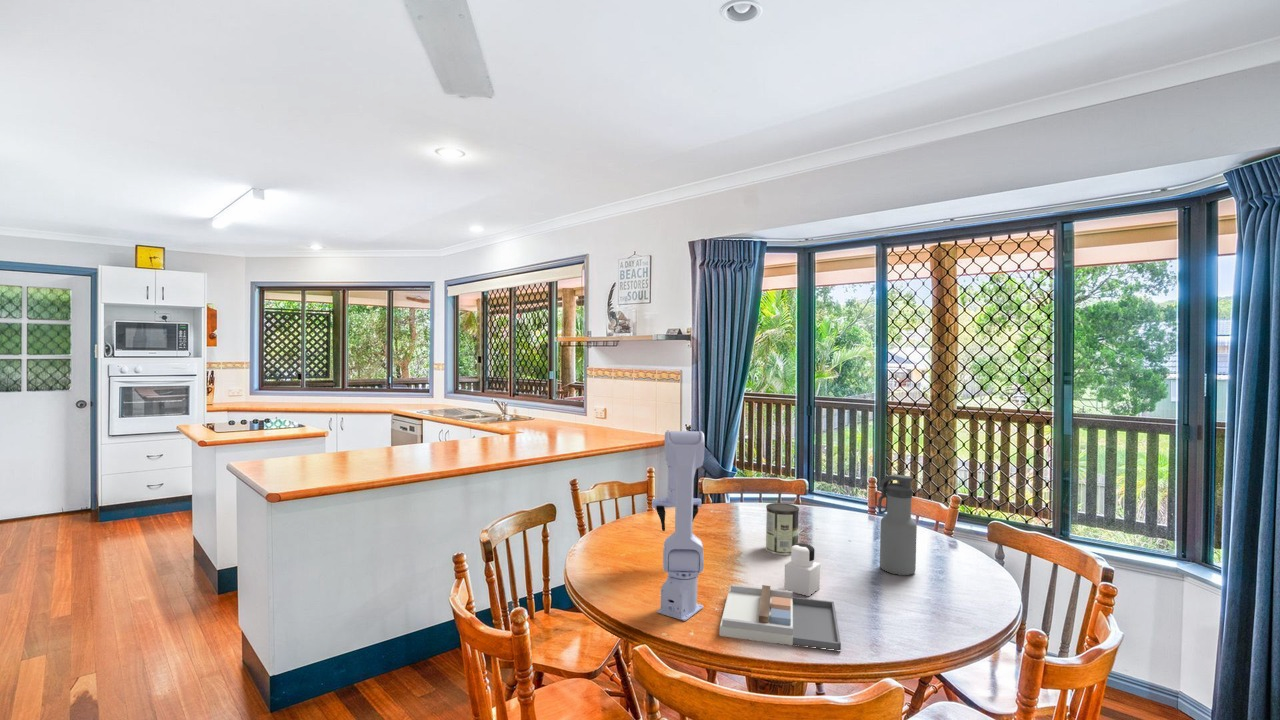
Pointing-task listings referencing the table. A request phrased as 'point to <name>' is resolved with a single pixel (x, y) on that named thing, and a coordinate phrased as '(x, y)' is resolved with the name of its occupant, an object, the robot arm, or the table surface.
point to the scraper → (764, 604)
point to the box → (815, 624)
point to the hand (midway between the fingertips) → (676, 529)
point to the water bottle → (897, 526)
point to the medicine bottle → (802, 570)
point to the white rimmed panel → (753, 616)
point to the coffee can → (781, 528)
